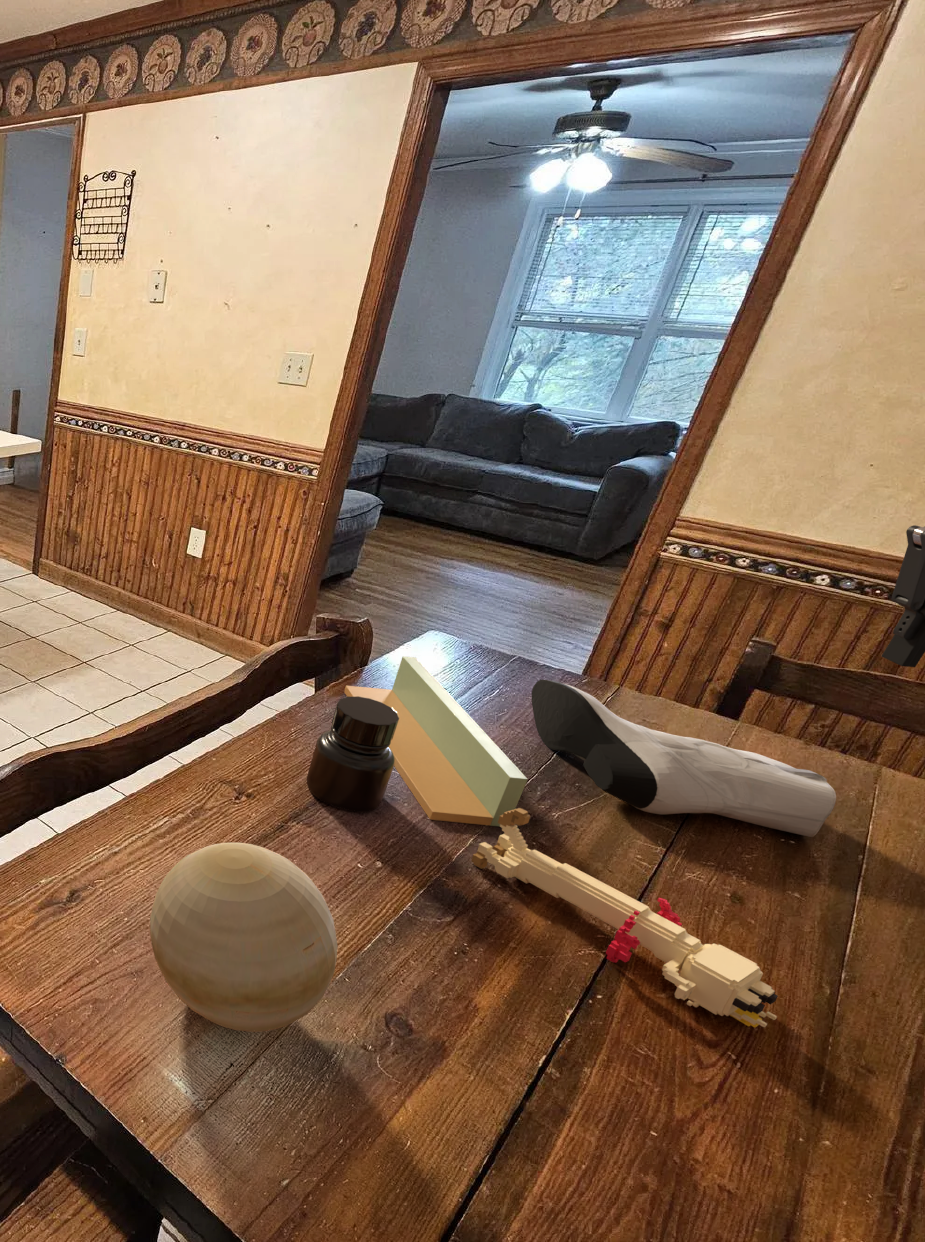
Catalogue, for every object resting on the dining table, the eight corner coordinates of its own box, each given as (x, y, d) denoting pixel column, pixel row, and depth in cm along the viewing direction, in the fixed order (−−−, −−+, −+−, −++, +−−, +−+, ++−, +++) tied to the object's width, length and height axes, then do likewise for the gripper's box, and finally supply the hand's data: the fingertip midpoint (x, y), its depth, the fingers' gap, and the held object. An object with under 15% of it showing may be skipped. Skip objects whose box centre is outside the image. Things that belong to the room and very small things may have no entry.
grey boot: (626, 764, 94) (876, 805, 89) (541, 650, 117) (736, 678, 112) (591, 824, 98) (827, 866, 94) (516, 703, 122) (702, 732, 117)
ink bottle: (382, 783, 102) (409, 703, 96) (387, 823, 94) (416, 737, 89) (302, 764, 105) (324, 685, 100) (300, 801, 97) (324, 717, 92)
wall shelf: (403, 697, 123) (416, 657, 120) (507, 827, 95) (528, 779, 92) (343, 692, 124) (355, 652, 121) (429, 819, 95) (447, 771, 92)
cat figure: (455, 879, 87) (738, 1052, 67) (474, 812, 84) (777, 971, 64) (510, 856, 92) (792, 1011, 71) (530, 791, 88) (832, 933, 68)
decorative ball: (286, 1109, 61) (334, 969, 55) (110, 1009, 69) (134, 875, 62) (331, 982, 72) (375, 854, 66) (175, 908, 80) (202, 786, 73)
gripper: (1043, 468, 90) (925, 653, 100) (920, 460, 91) (815, 644, 101) (1122, 485, 83) (987, 680, 94) (988, 475, 84) (869, 670, 95)
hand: (898, 661), depth 98 cm, fingers closed
